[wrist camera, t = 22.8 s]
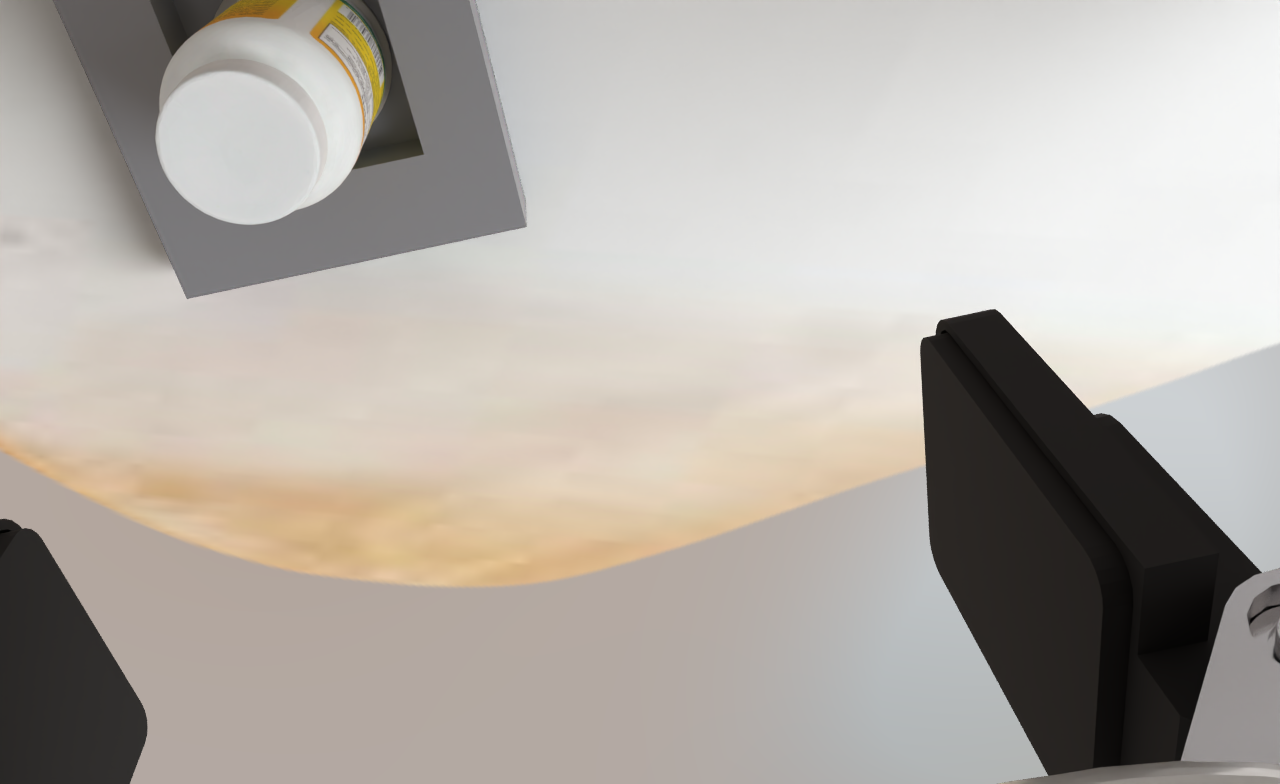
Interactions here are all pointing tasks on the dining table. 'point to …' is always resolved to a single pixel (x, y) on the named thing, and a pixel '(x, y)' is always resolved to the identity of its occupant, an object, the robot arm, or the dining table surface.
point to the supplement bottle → (269, 107)
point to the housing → (385, 169)
